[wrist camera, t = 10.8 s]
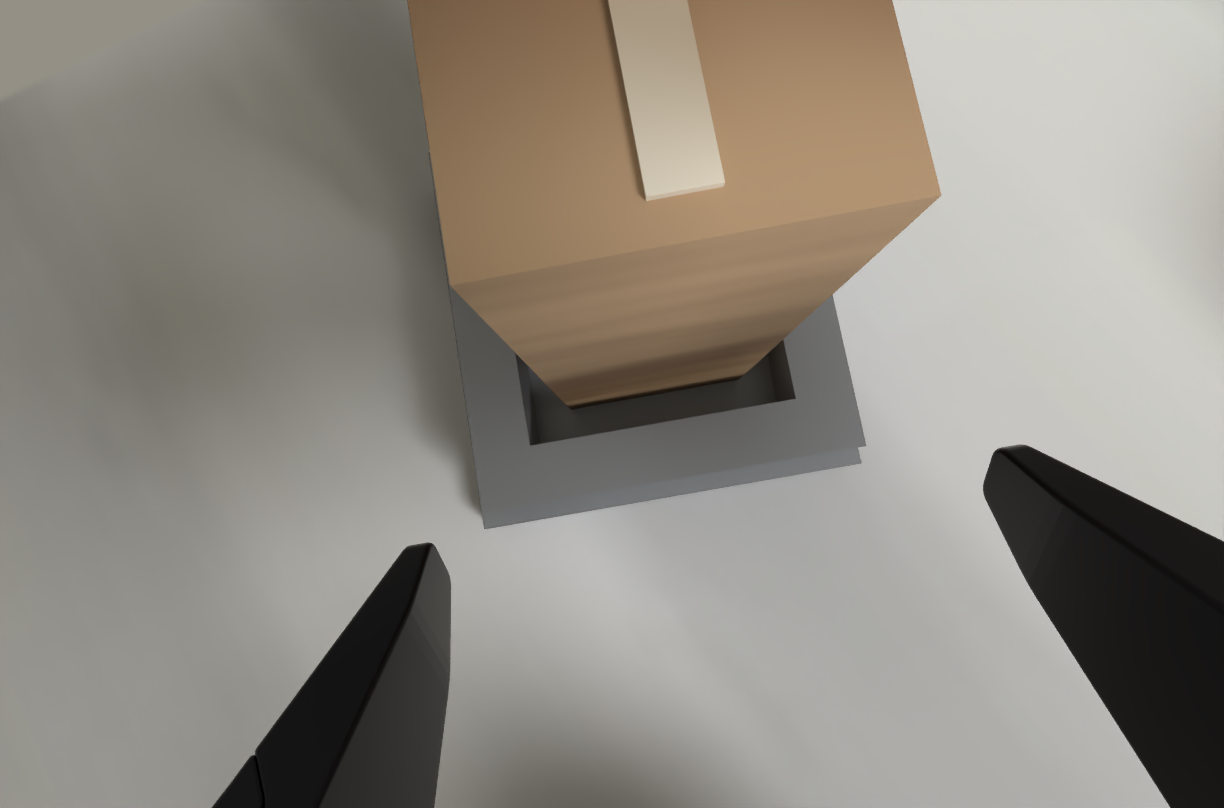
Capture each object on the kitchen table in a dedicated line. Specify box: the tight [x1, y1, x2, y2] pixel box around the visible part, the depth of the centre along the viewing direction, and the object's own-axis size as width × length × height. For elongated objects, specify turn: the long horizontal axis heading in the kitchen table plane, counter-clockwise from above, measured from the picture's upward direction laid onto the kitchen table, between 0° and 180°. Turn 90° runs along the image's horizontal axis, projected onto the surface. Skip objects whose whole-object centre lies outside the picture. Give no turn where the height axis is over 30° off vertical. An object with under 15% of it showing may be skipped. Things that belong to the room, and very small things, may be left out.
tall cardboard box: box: [407, 0, 941, 410], centre depth 12 cm, size 5×5×12 cm
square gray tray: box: [429, 152, 866, 529], centre depth 18 cm, size 11×11×3 cm
